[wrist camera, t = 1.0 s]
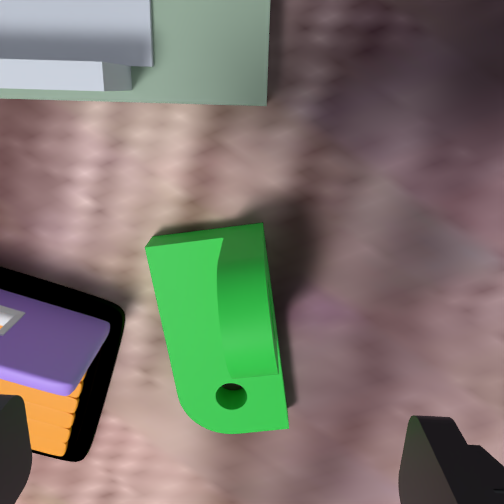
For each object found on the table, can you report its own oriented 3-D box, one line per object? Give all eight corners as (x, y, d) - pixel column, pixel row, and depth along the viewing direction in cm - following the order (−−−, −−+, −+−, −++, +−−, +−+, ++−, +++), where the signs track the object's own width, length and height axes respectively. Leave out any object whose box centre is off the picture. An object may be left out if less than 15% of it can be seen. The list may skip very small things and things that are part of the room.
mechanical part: (153, 235, 25) (108, 298, 18) (262, 221, 25) (264, 279, 18) (192, 416, 29) (169, 529, 22) (287, 406, 29) (297, 518, 21)
